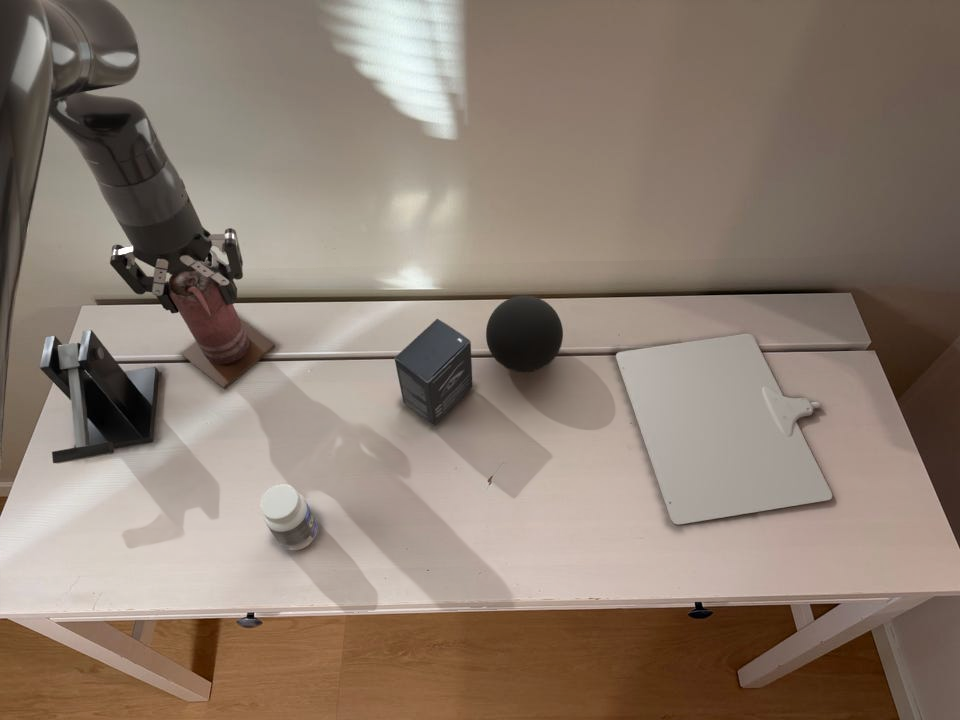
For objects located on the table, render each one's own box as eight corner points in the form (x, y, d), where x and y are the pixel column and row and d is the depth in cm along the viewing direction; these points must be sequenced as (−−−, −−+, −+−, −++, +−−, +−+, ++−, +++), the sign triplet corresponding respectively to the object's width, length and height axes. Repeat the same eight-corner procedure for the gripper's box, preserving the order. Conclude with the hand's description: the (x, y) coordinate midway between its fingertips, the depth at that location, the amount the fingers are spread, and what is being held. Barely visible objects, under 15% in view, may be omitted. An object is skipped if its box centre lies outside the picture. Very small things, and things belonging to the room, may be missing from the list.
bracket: (153, 442, 83) (102, 380, 72) (78, 455, 82) (14, 395, 71) (159, 371, 89) (112, 305, 78) (89, 383, 88) (32, 317, 77)
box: (442, 365, 90) (438, 315, 81) (474, 388, 88) (473, 338, 79) (401, 404, 86) (392, 355, 77) (433, 428, 84) (427, 381, 75)
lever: (116, 453, 76) (106, 452, 73) (61, 463, 75) (49, 463, 73) (104, 343, 78) (95, 339, 75) (51, 352, 77) (39, 348, 75)
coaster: (224, 389, 88) (223, 387, 87) (182, 356, 91) (180, 353, 90) (276, 346, 92) (275, 344, 91) (233, 315, 95) (232, 313, 95)
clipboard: (864, 496, 78) (868, 491, 77) (671, 527, 77) (674, 523, 76) (777, 331, 93) (780, 326, 92) (613, 355, 91) (614, 350, 90)
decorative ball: (493, 322, 94) (494, 274, 86) (563, 333, 93) (571, 285, 85) (479, 380, 88) (478, 334, 80) (553, 392, 87) (560, 347, 79)
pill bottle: (325, 536, 76) (309, 506, 69) (287, 559, 74) (267, 531, 68) (307, 504, 78) (290, 472, 71) (270, 525, 77) (249, 495, 70)
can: (219, 375, 88) (180, 307, 77) (197, 346, 91) (156, 276, 80) (259, 351, 91) (227, 281, 79) (236, 324, 93) (202, 253, 82)
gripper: (71, 234, 66) (141, 336, 80) (218, 213, 68) (262, 317, 82) (81, 186, 71) (146, 291, 84) (219, 167, 72) (261, 273, 86)
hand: (203, 303), depth 83 cm, fingers closed on can, 6 cm apart
